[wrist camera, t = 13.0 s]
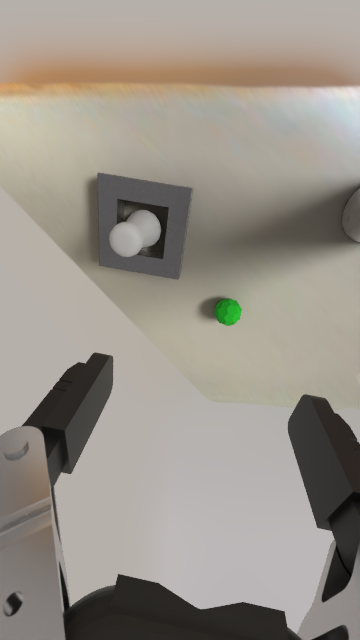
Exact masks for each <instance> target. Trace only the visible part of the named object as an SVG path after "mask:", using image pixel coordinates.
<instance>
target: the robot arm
mask: <svg viewBox="0 0 360 640" xmlns="http://www.w3.org/2000/svg"><path fill="white" fill-rule="evenodd" d="M342 224H343V228H344V231H345V233H346V234H347V235H348V236H349V237H350V238H351V239H353V240H355V241H357V242H360V188H359V189H358V190H357V191H356V192H355V193H354V194H353V195H352V196H351V198H350V199H349V200H348V202H347V204H346V206H345V209H344V212H343V217H342ZM112 385H113V356H110V355H105V354H100V353H93V354H92V356H91V357H90V359H89V360H88V361H87V362H86V364H85V363H80V362H79V363H77V364H75V365H74V366H72V367H71V368H69V369H67V371H66V372H65V373H64V374H63V375H62V377H61V378H60V380H59V381H58V382H57V383H56V384H55V386H54V387H53V389H52V390H50V392H49V393H48V394H47V396H46V397H45V398H44V399H43V401H42V402H41V403H40V404H39V406H38V407H37V408H36V409H35V411H34V412H33V413H32V414H31V416H30V417H29V418H28V419H27V421H26V422H25V423H24V424H23V425H22V426H21V427H17V428H14V429H11V430H9V431H7V432H5V433H4V434H2V435H1V436H0V640H360V444H359V442H357V438H356V437H355V435H354V433H353V431H352V430H351V428H350V426H349V425H348V424H347V423H346V422H345V421H344V420H343V419H342V418H341V417H340V416H339V415H338V414H335V413H334V412H333V410H332V408H331V406H330V404H329V402H328V401H327V400H326V399H325V398H322V397H317V396H312V395H306V394H305V395H303V396H302V397H301V399H300V401H299V402H298V404H297V406H296V408H295V409H294V411H293V413H292V415H291V416H290V419H289V422H288V433H289V437H290V440H291V443H292V447H293V450H294V453H295V456H296V459H297V463H298V466H299V469H300V472H301V476H302V479H303V482H304V486H305V489H306V492H307V495H308V499H309V502H310V505H311V508H312V512H313V515H314V518H315V521H316V525H317V528H321V529H325V530H330V531H332V533H333V536H334V538H335V540H334V541H333V542H332V543H331V545H330V549H329V553H328V555H327V559H326V562H325V566H324V569H323V572H322V576H321V579H320V582H319V586H318V589H317V592H316V596H315V599H314V602H313V604H312V606H311V608H310V610H309V611H308V613H307V614H306V616H305V617H304V620H303V621H302V623H301V626H300V628H299V630H298V633H297V634H295V633H294V632H293V631H292V630H291V629H289V628H288V627H287V624H286V617H285V612H284V611H280V610H275V609H271V608H267V607H262V606H258V605H253V604H249V603H244V602H242V603H236V604H231V605H225V606H220V607H214V608H209V609H198V608H196V607H194V606H193V605H191V604H190V603H188V602H187V601H185V600H183V599H182V598H180V597H179V596H177V595H176V594H174V593H173V592H171V591H169V590H168V589H166V588H165V587H163V586H162V585H160V584H159V583H155V582H151V581H146V580H142V579H138V578H133V577H129V576H124V575H120V574H118V577H117V581H116V585H113V586H107V587H104V588H101V589H99V590H96V591H94V592H92V593H90V594H88V595H87V596H85V597H83V598H82V599H80V600H79V601H77V602H76V603H75V604H74V605H72V606H71V605H70V598H69V590H68V583H67V575H66V568H65V562H64V556H63V550H62V543H61V535H60V528H59V520H58V513H57V505H56V497H55V489H54V485H55V483H56V481H57V479H58V477H59V475H60V473H61V472H63V473H68V474H71V473H72V471H73V469H74V467H75V465H76V463H77V461H78V459H79V457H80V455H81V453H82V451H83V449H84V447H85V445H86V443H87V441H88V439H89V437H90V435H91V433H92V431H93V429H94V427H95V425H96V423H97V421H98V418H99V416H100V414H101V412H102V410H103V408H104V406H105V404H106V402H107V400H108V398H109V396H110V393H111V390H112Z"/></svg>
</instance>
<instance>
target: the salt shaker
mask: <svg viewBox="0 0 360 640" xmlns="http://www.w3.org/2000/svg"><path fill="white" fill-rule="evenodd" d="M160 233H161V227H160V222H159V220H158V219H157V217H156V216H155V215H154V214H153V213H151V212H149V211H147V210H137V211H135V212H133V213H132V214H131V215H130V216H129V218H128V219H127V221H126V222H121V223H119V224H117V225H115V226H114V228H113V229H112V230H111V232H110V237H109V241H110V245H111V247H112V249H113V250H114V251H115V252H116V253H117V254H119V255H120V256H122V257H131V256H134V255H136V254H138V252H139V251H140V250H141V249H142V248H145V247H149V246H152V245H154V244H155V243H156V242H157V241H158V239H159V237H160Z"/></svg>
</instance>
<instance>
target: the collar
mask: <svg viewBox="0 0 360 640" xmlns="http://www.w3.org/2000/svg"><path fill="white" fill-rule="evenodd" d="M192 193H193V188H188V187H182V186H176V185H170V184H164V183H158V182H152V181H146V180H140V179H134V178H128V177H122V176H116V175H110V174H104V173H98V221H99V266H105V267H111V268H116V269H122V270H127V271H133V272H139V273H144V274H150V275H156V276H161V277H167V278H173V279H179V276H180V272H181V266H182V259H183V252H184V246H185V239H186V233H187V226H188V219H189V213H190V206H191V200H192ZM124 200H128V201H134V202H140V203H145V204H151V205H157V206H163V207H169V211H168V220H167V229H166V238H165V247H164V254H161V253H155V252H149V251H144V250H140V251H139V252H138V254H136V255H134V256H131V257H122V256H120V255H119V254H117V253H116V252H115V251H114V250H113V249H112V247H111V245H110V241H109V237H110V232H111V230H112V229H113V228H114V226H115V225H117V224H119V223H121V222H124Z"/></svg>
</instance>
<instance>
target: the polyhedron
mask: <svg viewBox="0 0 360 640" xmlns="http://www.w3.org/2000/svg"><path fill="white" fill-rule="evenodd" d="M241 310H242V309H241V307H240V306H239V304H238V303H237V301H235V300H232V299H223V300H221V301H220V302H219V303H218V304H217V305H216V308H215V314H214V315H215V316H216V318H217V320H218V321H219V323H222V324H224V325H227V326H229V325H233V324H235V323H236V322H237V321H238V320H239V319H240V315H241Z"/></svg>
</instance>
